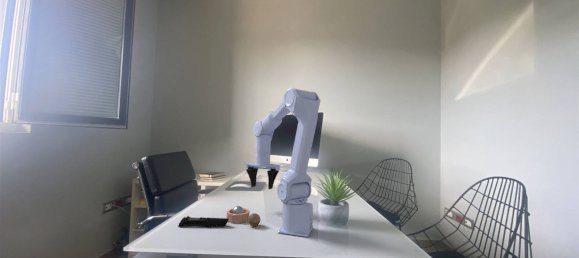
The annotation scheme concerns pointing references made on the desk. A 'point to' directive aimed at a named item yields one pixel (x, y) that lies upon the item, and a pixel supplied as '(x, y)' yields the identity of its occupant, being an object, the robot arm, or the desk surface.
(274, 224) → the desk surface
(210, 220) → the electric trimmer
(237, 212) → the steel ball
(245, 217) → the terracotta bowl
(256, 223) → the wooden ball
